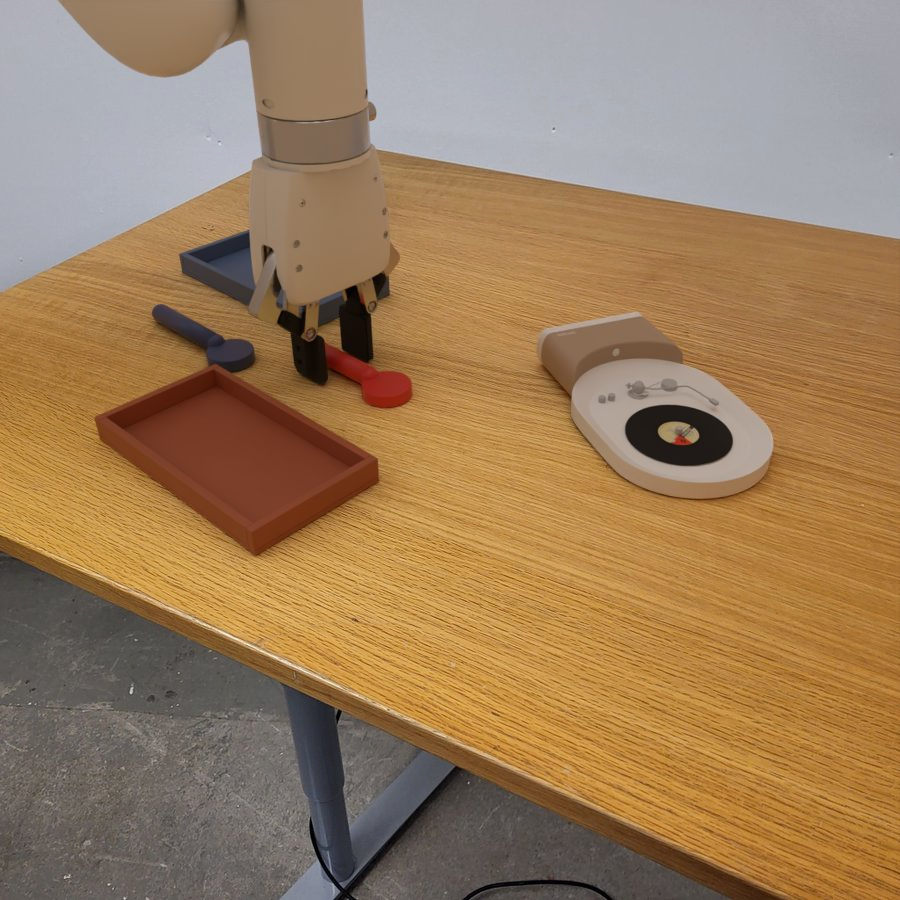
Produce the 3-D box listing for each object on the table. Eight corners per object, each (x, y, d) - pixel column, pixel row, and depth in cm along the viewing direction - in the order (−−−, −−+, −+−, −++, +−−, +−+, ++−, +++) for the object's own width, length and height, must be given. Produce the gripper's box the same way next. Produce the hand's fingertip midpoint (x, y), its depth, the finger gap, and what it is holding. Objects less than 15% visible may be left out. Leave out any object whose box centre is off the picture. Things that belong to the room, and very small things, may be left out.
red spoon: (279, 355, 76) (276, 338, 75) (315, 339, 78) (313, 322, 77) (386, 413, 69) (385, 395, 68) (422, 393, 71) (421, 375, 70)
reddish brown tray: (99, 439, 66) (93, 416, 65) (219, 384, 72) (215, 363, 71) (255, 556, 56) (251, 531, 55) (379, 481, 62) (378, 458, 61)
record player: (655, 307, 76) (815, 441, 61) (651, 341, 78) (804, 479, 62) (524, 332, 72) (657, 479, 57) (522, 366, 74) (651, 518, 59)
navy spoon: (139, 326, 80) (135, 309, 79) (176, 311, 83) (173, 295, 82) (226, 377, 73) (223, 359, 72) (265, 359, 75) (262, 342, 75)
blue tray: (181, 272, 89) (178, 253, 88) (267, 241, 95) (265, 223, 94) (302, 333, 79) (300, 313, 78) (389, 294, 85) (389, 275, 84)
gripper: (368, 99, 71) (379, 316, 81) (179, 150, 61) (220, 389, 72) (439, 118, 67) (442, 344, 77) (248, 176, 57) (281, 426, 67)
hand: (335, 364), depth 74 cm, fingers open, 4 cm apart
